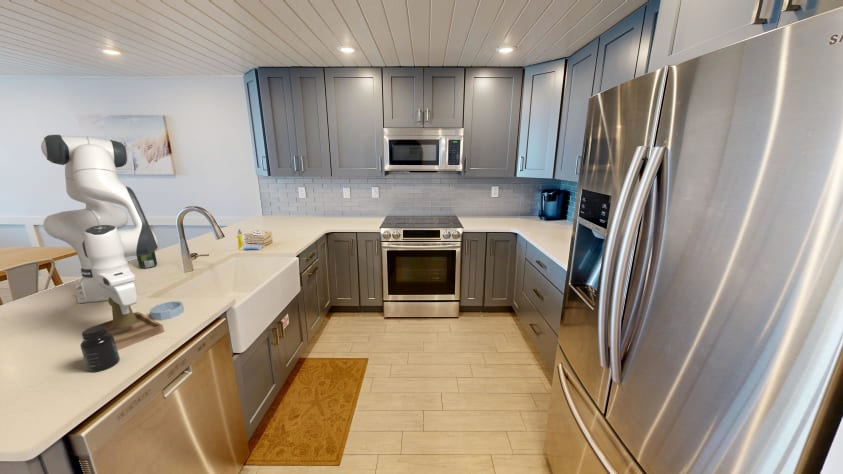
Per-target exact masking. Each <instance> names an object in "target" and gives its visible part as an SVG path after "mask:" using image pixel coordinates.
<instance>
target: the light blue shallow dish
mask: <svg viewBox="0 0 843 474" xmlns="http://www.w3.org/2000/svg"><path fill="white" fill-rule="evenodd" d="M167 309H170V310H167ZM164 310H165V311H164ZM161 311H162V312H161ZM184 311H185V308H184V303H183V302H182V301H179V300H177V301H175V300H173V301H168V302H163V303H160V304H158V305H155V306H153V307H152V308H151V309H150V310H149V314H150V317H151V319H152V320H154V321H165V320H169V319H172V318H175V317H178V316H180V315H181V314H183V313H184ZM164 319H165V320H164Z"/></svg>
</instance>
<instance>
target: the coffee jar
mask: <svg viewBox="0 0 843 474" xmlns="http://www.w3.org/2000/svg"><path fill="white" fill-rule="evenodd" d="M135 257H136V259H137V262H138V268H140V269H142V270H143V269H151V268H153V267H157V266H158V259H157V257H156V250H155V251H154V252H152V253H151V254H150V255H140V256H137V255H136V256H135Z"/></svg>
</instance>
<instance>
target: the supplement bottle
mask: <svg viewBox="0 0 843 474" xmlns="http://www.w3.org/2000/svg"><path fill="white" fill-rule="evenodd" d="M94 326H95V325H94ZM91 327H92V326H91ZM88 328H89V327H88ZM81 337H82V339H83V340H82V342H81V343H80V345H79V347H80V350H81V353H82V356H83V359H84V362H85V366H86V368H87V371H88V372H92V373H98V372H99V373H100V372H103V371H106V370H108V369H111V368H112V367H114V366H116V365H117V364H118V363H119V362H120V360H121V358H120V354H119V350H117V347H116V343H115V340H114V337H113V335H112V334H110V333H107V330H106V327H105V326H95V327H92V328H89V329H87V328H86V329H85V330H83V331H82V332H81Z"/></svg>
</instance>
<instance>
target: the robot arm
mask: <svg viewBox="0 0 843 474" xmlns="http://www.w3.org/2000/svg"><path fill="white" fill-rule="evenodd" d="M40 144H41V145H40V149H41V153H42V154H43V155H44V157H45V158H46V160H47V161H49V162H50V163H52V164H55V165H60V166H61V165H62V166H64V178H65V189H66V194H67V195H68V197H69V198H71V199H72V200H74V201H76V202H79V203H83V204H85V208H82V209H81V208H80V209H74V210H66V211H65V210H64V211H60V212H57V213H53V214H49V215H47V216H46V217H45V218H44V220H43V229H44V231H45V232H46V234H47V235H49V237H52V238H53V239H56V240H60V241H63V242H65V243H67V244H68V245H69V246H71V247H72V248H73V249H74V251H75V252H76V254H77V258H78V259H79V263H80V266H81V268H80V274H81V276H82V277H81V279H80V283H78V284H76V285H75V289H76V291H75V297H76V301H77V303H78V304H83V303H84V304H85V303H93V302H94V303H97V302H102V301H108V299H109V298H112V300H113V301H114V302H115V303H117V304H119V306H120V308H121V309H120V311H121V314H123V315H125V314H128V313H129V306H130V307H131V306H132V305H135V304H137V302H138V295H137V288H136V285H135V282H134V281H136V280H137V279H136V275H135V274H134V273H133V272H132V270H131V268H130V266H129V262H128V260H127V257H134V256H135V257H137V256H140V255H150V254H151V253H152V252H154V251H155V252H156V250H157V249H158V246H159V241H158V237H157V236H156V234H155V232H154V230H153V229H152V228H151V226H150V224H149V222H148V221H149V220H148V219H147V217H146V215H145V211H144V210H143V208H142V206H141V204H140V202H139V199H138V198H137V196H136V193H135V191H134V190H133V189H132V188H131V187H129V186H125V185H124V184H123V183H122V182H121V180H120V178H119V176H118V170H117V168H122V167H124V166H126V164H127V162H128V160H129V152H128V150H127V148H126V146H125V145H124V144H123V143H122V142H119V141H116V140H112V139H108V140H107V139H103V138H99V137H98V138H97V137H93V136H80V135H79V136H76V135H61V134H48V135H46V136H45V137H44V138H43V140H42V141H41V143H40ZM115 204H116V205H119V206H122V207H124V208H125V209H127V211H128V214H129V216H130V218H131V220H132V222H133V225H134V228H131V229H123V230H122V228H125V227H126V226H127V224H128V221H129V217H128V215H127V212H126V211H124V210H123V209H122V208H120V207H119V206H116V205H115ZM119 229H121V230H119ZM136 255H137V256H136Z"/></svg>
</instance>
